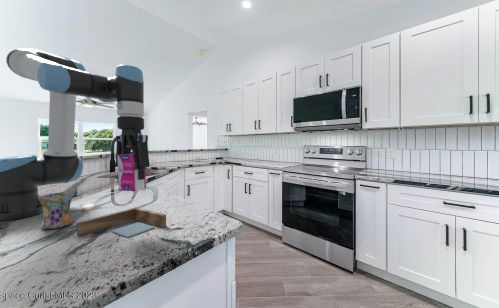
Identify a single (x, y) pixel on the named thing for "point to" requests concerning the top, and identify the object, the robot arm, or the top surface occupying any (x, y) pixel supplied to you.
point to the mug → (56, 210)
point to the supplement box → (127, 172)
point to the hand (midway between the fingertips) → (132, 188)
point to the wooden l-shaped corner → (120, 220)
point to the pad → (132, 229)
